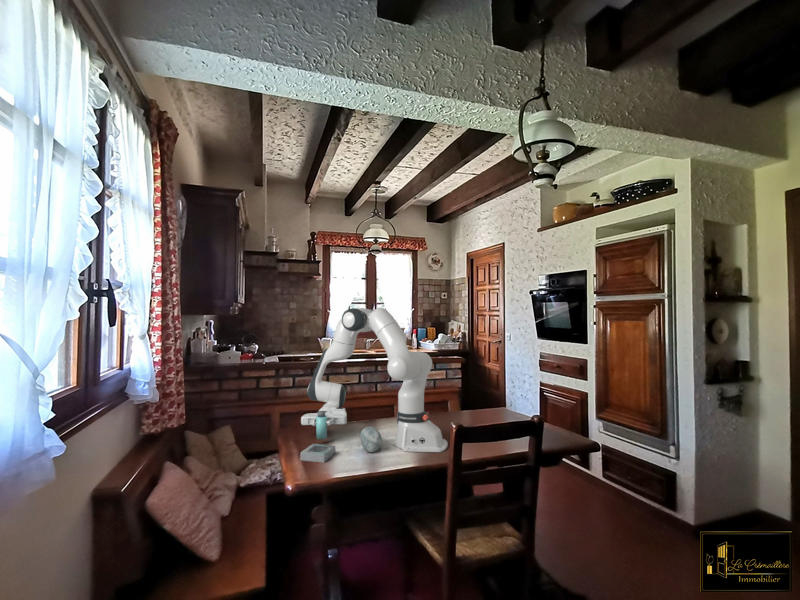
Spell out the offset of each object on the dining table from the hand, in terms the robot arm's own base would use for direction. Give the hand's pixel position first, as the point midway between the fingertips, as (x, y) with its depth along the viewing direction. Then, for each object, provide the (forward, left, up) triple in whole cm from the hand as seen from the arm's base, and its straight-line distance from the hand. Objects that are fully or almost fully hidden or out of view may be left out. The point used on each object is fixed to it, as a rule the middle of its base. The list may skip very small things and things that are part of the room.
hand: (321, 423), depth 168 cm
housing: (-5, +13, -9) cm, 17 cm away
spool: (-22, -1, -9) cm, 24 cm away
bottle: (0, -1, -6) cm, 6 cm away
